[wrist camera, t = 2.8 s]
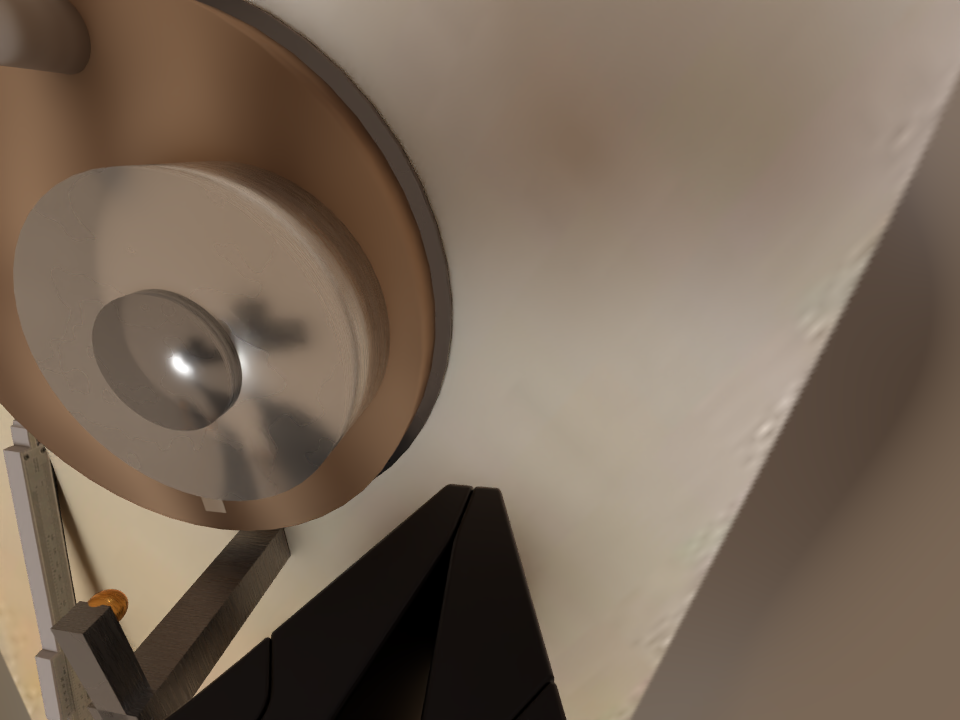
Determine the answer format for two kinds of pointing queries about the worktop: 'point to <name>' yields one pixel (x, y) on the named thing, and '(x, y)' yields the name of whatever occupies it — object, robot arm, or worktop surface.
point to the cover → (202, 321)
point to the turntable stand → (250, 554)
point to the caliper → (45, 570)
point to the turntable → (195, 138)
